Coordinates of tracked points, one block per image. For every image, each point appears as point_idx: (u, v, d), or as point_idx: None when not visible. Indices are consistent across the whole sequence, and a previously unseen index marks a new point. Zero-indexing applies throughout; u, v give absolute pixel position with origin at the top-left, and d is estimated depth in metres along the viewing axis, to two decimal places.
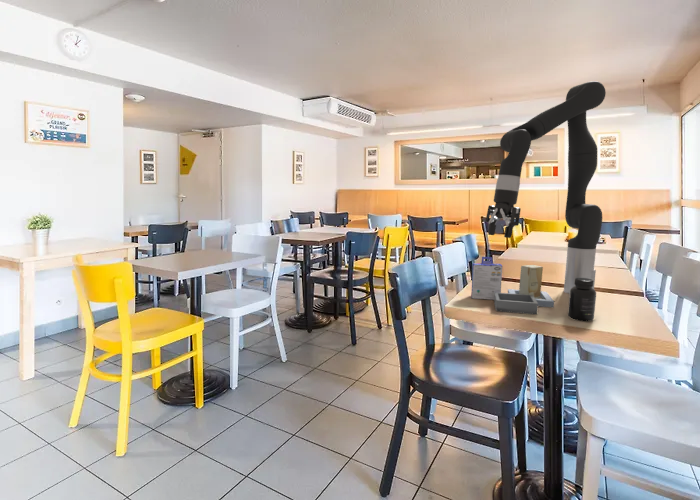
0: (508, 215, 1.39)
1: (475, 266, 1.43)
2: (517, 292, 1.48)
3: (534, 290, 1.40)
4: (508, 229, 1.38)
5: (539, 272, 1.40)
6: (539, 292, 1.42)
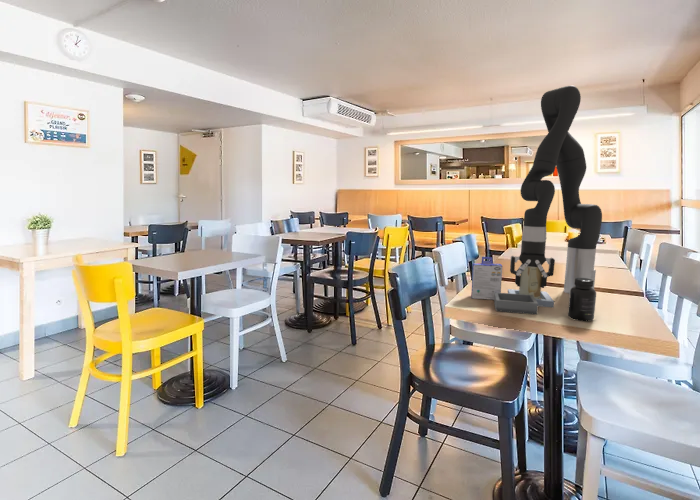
0: None
1: (475, 266, 1.43)
2: (517, 292, 1.48)
3: (534, 290, 1.40)
4: (545, 280, 1.40)
5: (539, 271, 1.40)
6: (539, 292, 1.42)
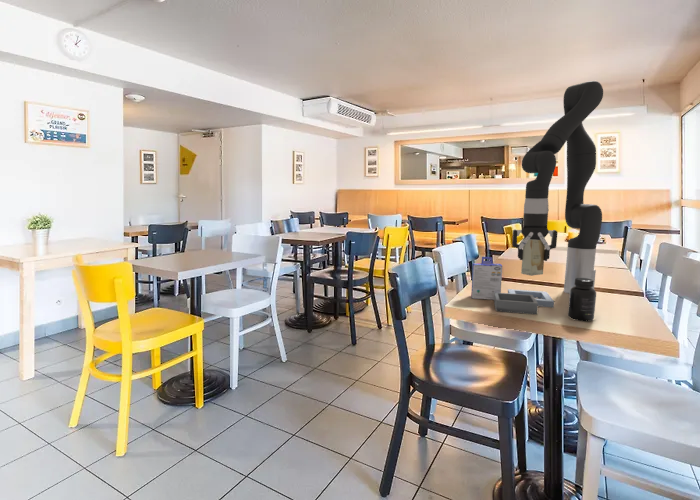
0: None
1: (475, 266, 1.43)
2: (517, 292, 1.48)
3: (537, 263, 1.39)
4: (548, 252, 1.39)
5: (541, 244, 1.39)
6: (542, 265, 1.40)
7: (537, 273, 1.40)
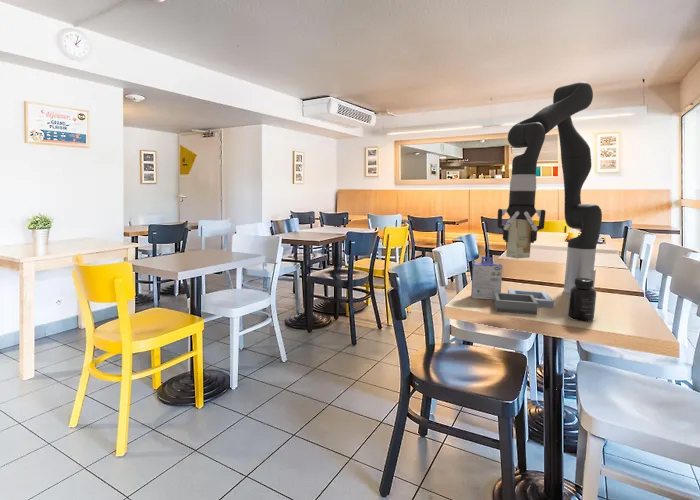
0: None
1: (475, 266, 1.43)
2: (517, 292, 1.48)
3: (523, 245, 1.28)
4: (535, 234, 1.28)
5: (528, 225, 1.28)
6: (529, 248, 1.30)
7: (523, 256, 1.29)
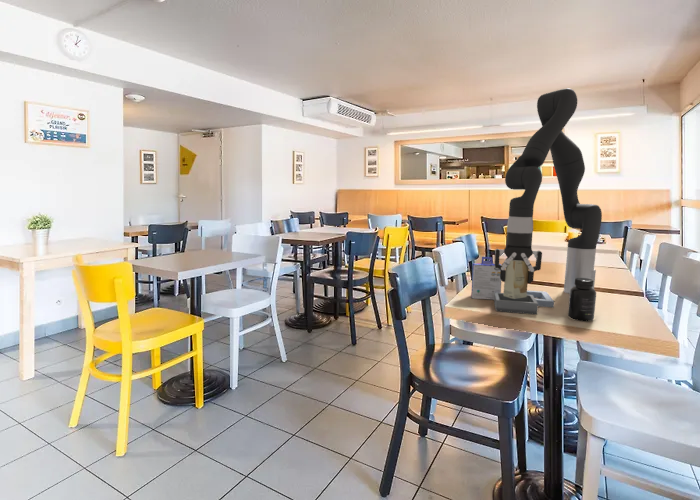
0: None
1: (475, 266, 1.43)
2: None
3: (520, 285, 1.30)
4: (531, 274, 1.30)
5: (525, 266, 1.30)
6: (525, 288, 1.31)
7: (520, 296, 1.31)
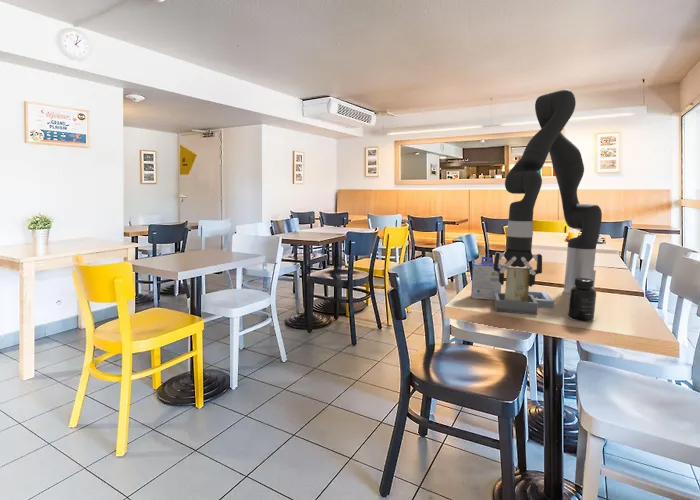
0: None
1: (475, 266, 1.43)
2: None
3: (521, 294, 1.30)
4: (533, 277, 1.30)
5: (526, 274, 1.30)
6: (526, 296, 1.32)
7: None
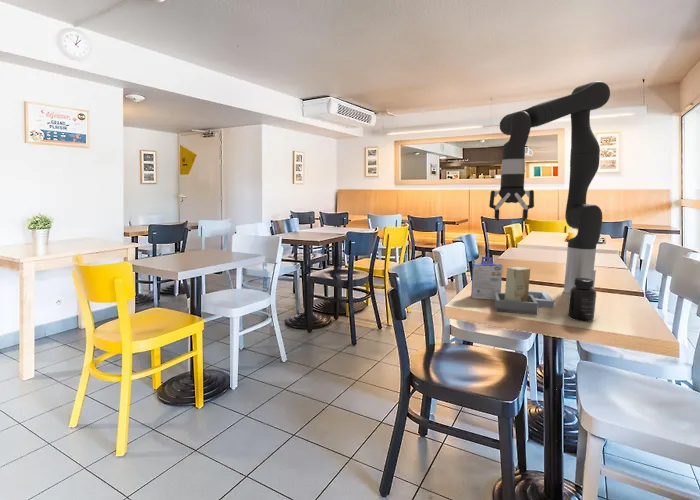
0: None
1: (475, 266, 1.43)
2: None
3: (521, 294, 1.30)
4: (526, 212, 1.41)
5: (526, 274, 1.30)
6: (526, 296, 1.32)
7: None
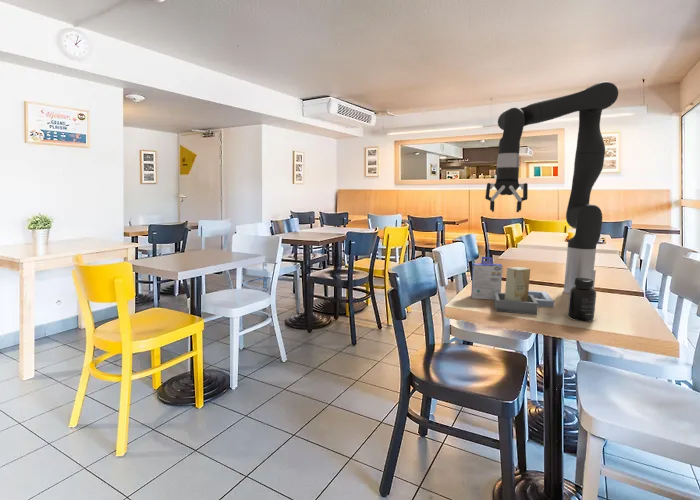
0: None
1: (475, 266, 1.43)
2: None
3: (521, 294, 1.30)
4: (520, 204, 1.48)
5: (526, 274, 1.30)
6: (526, 296, 1.32)
7: None
